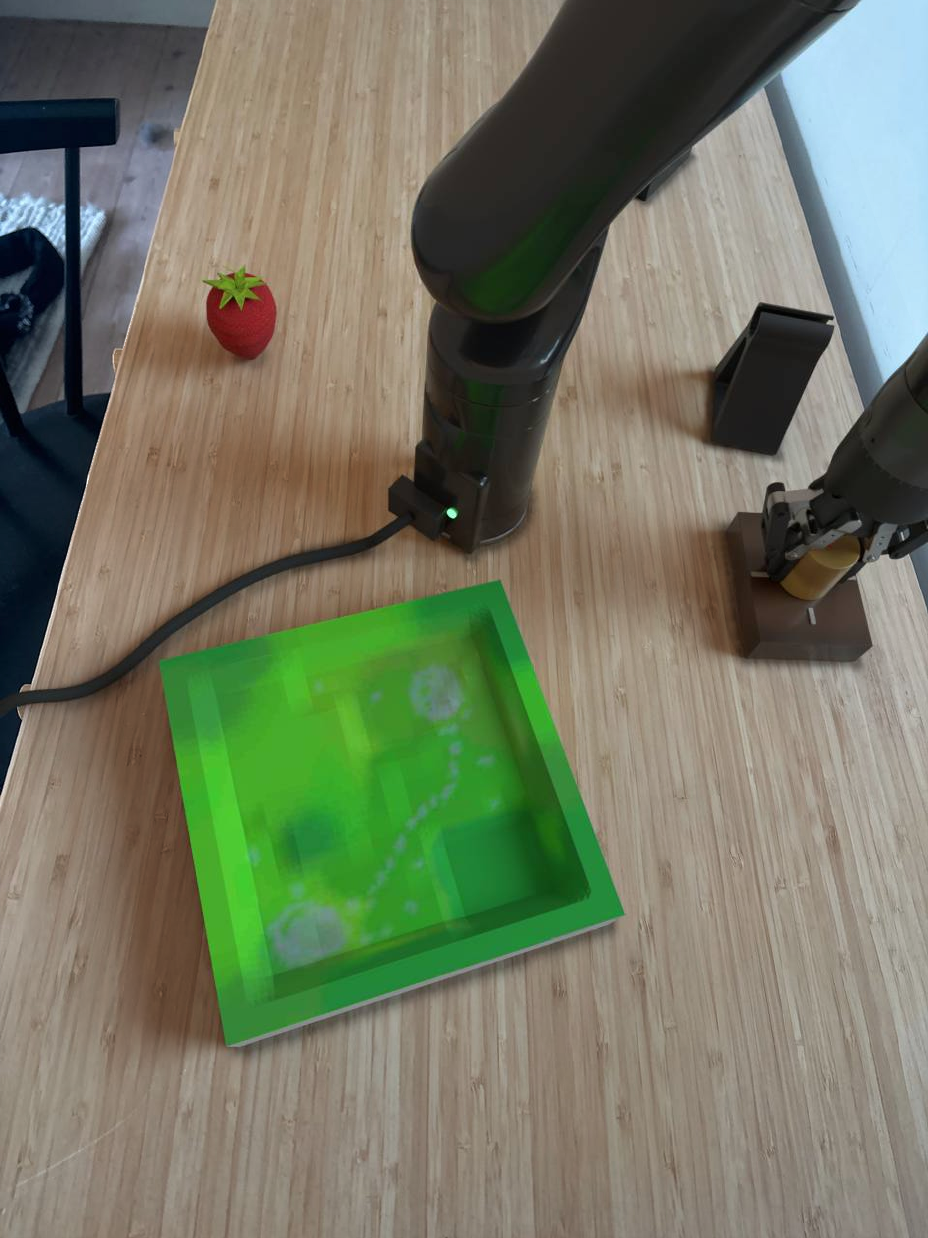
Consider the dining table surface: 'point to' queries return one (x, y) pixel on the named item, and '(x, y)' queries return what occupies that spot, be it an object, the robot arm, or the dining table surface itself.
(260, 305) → the strawberry
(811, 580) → the lock knob
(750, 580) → the lock plate
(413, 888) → the tray
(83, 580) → the dining table surface
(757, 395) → the phone stand
